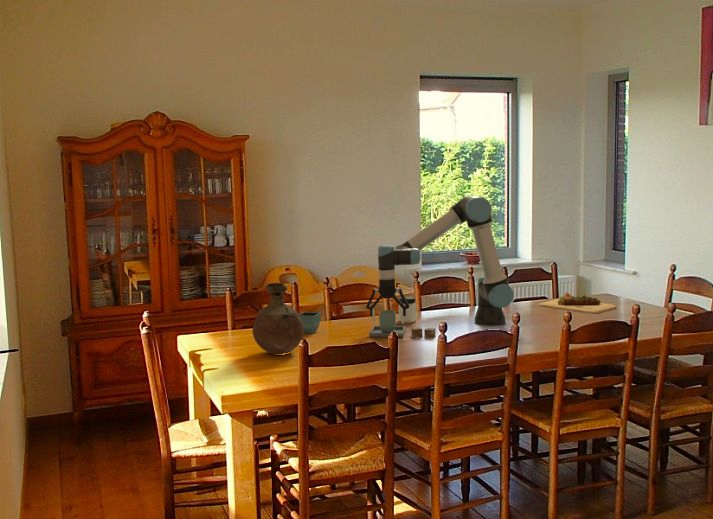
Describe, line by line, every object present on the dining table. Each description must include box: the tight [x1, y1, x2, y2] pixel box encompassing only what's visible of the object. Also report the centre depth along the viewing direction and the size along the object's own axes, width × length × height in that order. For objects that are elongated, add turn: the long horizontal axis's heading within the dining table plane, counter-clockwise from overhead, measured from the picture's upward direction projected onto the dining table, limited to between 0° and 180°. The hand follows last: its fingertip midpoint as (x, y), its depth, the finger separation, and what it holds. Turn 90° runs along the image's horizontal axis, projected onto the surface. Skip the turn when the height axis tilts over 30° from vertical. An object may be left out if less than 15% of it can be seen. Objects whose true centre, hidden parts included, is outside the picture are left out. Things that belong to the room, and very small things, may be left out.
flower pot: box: [298, 311, 321, 334], centre depth 367 cm, size 9×9×9 cm
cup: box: [378, 309, 397, 333], centre depth 360 cm, size 8×8×10 cm
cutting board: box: [538, 292, 617, 315], centre depth 415 cm, size 35×23×8 cm
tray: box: [368, 325, 407, 339], centre depth 360 cm, size 16×16×2 cm
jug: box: [251, 282, 304, 355], centre depth 326 cm, size 22×22×30 cm
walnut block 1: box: [411, 326, 423, 339], centre depth 353 cm, size 4×4×4 cm
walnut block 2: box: [423, 327, 436, 339], centre depth 351 cm, size 4×4×4 cm
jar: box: [398, 295, 418, 323], centre depth 388 cm, size 9×8×12 cm
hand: (388, 323), depth 360 cm, fingers open, 13 cm apart
